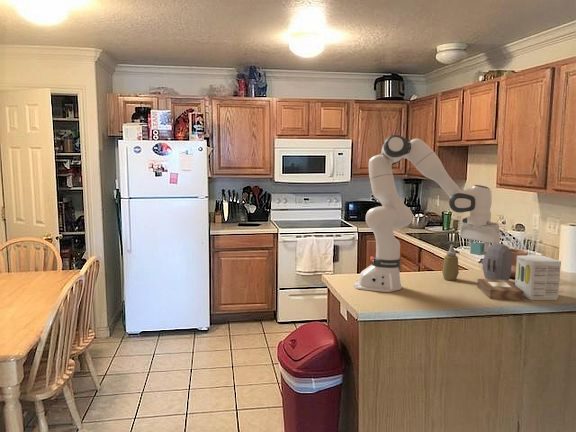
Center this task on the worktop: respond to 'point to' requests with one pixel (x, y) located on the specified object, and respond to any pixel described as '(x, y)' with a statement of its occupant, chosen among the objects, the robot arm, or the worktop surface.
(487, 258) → the small grey backpack
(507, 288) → the walnut plinth
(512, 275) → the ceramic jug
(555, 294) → the supplement box
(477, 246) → the teal cube
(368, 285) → the robot arm
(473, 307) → the worktop surface
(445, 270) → the squeeze bottle
